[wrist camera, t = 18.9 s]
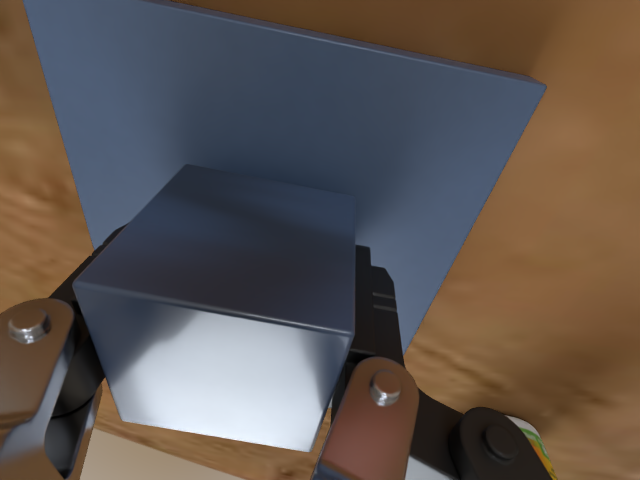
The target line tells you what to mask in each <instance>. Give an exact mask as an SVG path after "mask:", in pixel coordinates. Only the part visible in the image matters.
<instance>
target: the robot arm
mask: <svg viewBox="0 0 640 480" xmlns="http://www.w3.org/2000/svg"><path fill="white" fill-rule="evenodd" d="M127 224H128V223H127ZM127 224H125V225H123V226H121V227H120V228H118V229H116V230H114V231H113V232H112V233H111V234H110V235H109V236H108V237H107V238H106V240H105V241H104V242H103V244H102V245H100V246H99V247H98V248H97V249H96V250H95V251H94V252H93V253H92V256H89V257H88V258H87V259H86V260H85V261H84V262H83V263H82V264H81V265H80V266H79V267H78V268H77V269H76V270H75V271H74V272H73V273H72V274H71V275H70V276H69V277H68V278H67V279H66V280H65V281H64V282H63V283H62V284H61V285H60V286H59V287H58V288H57V289H56V290H55V291H54V292H53V293H52V295H51V296H50V297H48V298H42V299H34V300H30V301H26V302H23V303H20V304H18V305H15V306H13V307H11V308H9V309H7V310H6V311H4V312H2V313H1V314H0V480H80V475H81V472H82V468H83V464H84V460H85V457H86V453H87V449H88V445H89V441H90V438H91V434H92V430H93V426H94V423H95V419H96V415H97V411H98V408H99V404H100V400H101V396H102V384H101V382H102V381H103V379H104V378H105V375H104V372H103V369H102V366H101V364H100V361H99V358H98V356H97V353H96V350H95V347H94V345H93V342H92V339H91V336H90V334H89V331H88V328H87V325H86V323H85V320H84V317H83V315H82V312H81V309H80V306H79V304H78V301H77V298H76V295H75V293H74V290H73V287H72V285H73V282H74V280H75V279H76V278H77V277H78V276H79V275H80V274H81V273H82V271H83V270H84V269H85V268H86V267H87V266H88V265H89V264H90V263H91V262H92V261H93V260H94V259H95V258H96V257H97V256H98V255H99V254H100V253H101V252H102V251H103V250H104V248H105V247H106V246H107V245H108V244H109V243H110V242H111V241H112V240H113V239H114V238H115V237H116V236H117V235H118V234H119V233H120V232H121V231H122V230H123V229H124V228H125V226H126V225H127ZM395 297H396V296H395V288H394V282H393V280H392V278H391V277H390V275H389V274H388V272H387V270H386V269H385V268H383V267H377V266H372V265H371V252H370V247H367V246H362V245H356V257H355V336H354V339H353V341H352V344H351V347H350V350H349V352H348V355H347V358H346V360H345V363H344V366H343V369H342V371H341V374H340V377H339V379H338V382H337V385H336V388H335V390H334V393H333V396H332V398H331V401H330V404H329V406H328V408H332V409H331V426H330V429H329V432H328V434H327V437H326V439H325V442H324V444H323V447H322V450H321V452H320V455H319V457H318V460H317V463H316V465H315V468H314V470H313V473H312V476H311V478H310V480H553V479H552V477H551V476H550V474H549V472H548V471H547V469H546V468H545V466H544V464H543V463H542V461H541V459H540V458H539V456H538V455H537V453H536V451H535V450H534V448H533V446H532V445H531V443H530V441H529V440H528V438H527V437H526V435H525V434H524V433H523V431H522V430H521V429H520V428H519V427H518V426H517V425H516V424H515V423H514V422H513V421H512V420H510V419H509V418H508V417H507V416H505V415H503V414H502V413H500V412H498V411H496V410H493V409H490V408H485V407H476V408H472V409H470V410H469V411H467V412H466V413H465V414H462V413H460V412H458V411H456V410H454V409H452V408H450V407H448V406H446V405H444V404H442V403H440V402H438V401H436V400H434V399H432V398H431V397H429V396H428V395H426V394H425V393H423V392H422V391H421V390H420V389H419V388H418V387H417V385H416V383H415V380H414V379H413V377H412V376H411V374H410V373H409V372H408V371H407V370H406V368H405V365H404V359H403V351H402V343H401V336H400V328H399V320H398V313H397V304H396V300H395Z"/></svg>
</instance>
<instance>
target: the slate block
mask: <svg viewBox="0 0 640 480" xmlns="http://www.w3.org/2000/svg"><path fill="white" fill-rule="evenodd" d="M355 257H356V199H355V197H354V196H350V195H345V194H340V193H335V192H330V191H324V190H319V189H314V188H309V187H304V186H299V185H294V184H288V183H283V182H278V181H273V180H268V179H263V178H258V177H252V176H247V175H242V174H237V173H232V172H227V171H222V170H216V169H211V168H206V167H201V166H196V165H191V164H185V165H184V166H183V167H182V168H181V169H180V170H179V171H178V172H177V173H176V174H175V175H174V176H173V177H172V178H171V179H170V180H169V181H168V183H167V184H166V185H165V186H164V187H163V188H162V189H161V190H160V191H159V192H158V193H157V194H156V195H155V196H154V197H153V198H152V199H151V200H150V201H149V202H148V203H147V205H146V206H145V207H144V208H143V209H142V210H141V211H140V212H139V213H138V214H137V215H136V216H135V217H134V218H133V219H132V220H131V221H130V222H129V223H128V224H127V225H126V226H125V228H124V229H123V230H122V231H121V232H120V233H119V234H118V235H117V236H116V237H115V238H114V239H113V240H112V241H111V242H110V243H109V244H108V245H107V246H106V247H105V248H104V250H103V251H102V252H101V253H100V254H99V255H98V256H97V257H96V258H95V259H94V260H93V261H92V262H91V263H90V264H89V265H88V266H87V267H86V268H85V269H84V270H83V271H82V273H81V274H80V275H79V276H78V277H77V278H76V279H75V280H74V282H73V285H72V287H73V290H74V293H75V295H76V298H77V301H78V304H79V306H80V309H81V312H82V315H83V317H84V320H85V323H86V325H87V328H88V331H89V334H90V336H91V339H92V342H93V345H94V347H95V350H96V353H97V356H98V358H99V361H100V364H101V366H102V369H103V372H104V375H105V377H106V380H107V383H108V386H109V388H110V391H111V394H112V397H113V399H114V402H115V405H116V407H117V410H118V413H119V416H120V418H121V420H123V421H127V422H133V423H139V424H145V425H151V426H157V427H162V428H168V429H174V430H180V431H186V432H192V433H198V434H204V435H210V436H216V437H222V438H228V439H234V440H240V441H246V442H252V443H257V444H263V445H269V446H275V447H281V448H287V449H293V450H299V451H305V452H311V451H312V449H313V447H314V444H315V442H316V439H317V436H318V434H319V431H320V428H321V425H322V423H323V420H324V417H325V415H326V412H327V409H328V406H329V404H330V401H331V398H332V396H333V393H334V390H335V388H336V385H337V382H338V379H339V377H340V374H341V371H342V369H343V366H344V363H345V360H346V358H347V355H348V352H349V350H350V347H351V344H352V341H353V339H354V336H355Z"/></svg>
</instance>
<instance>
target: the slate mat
mask: <svg viewBox="0 0 640 480" xmlns="http://www.w3.org/2000/svg"><path fill="white" fill-rule="evenodd" d="M23 3H24V7H25V10H26V14H27V17H28V21H29V24H30V28H31V31H32V35H33V38H34V42H35V45H36V49H37V52H38V56H39V59H40V63H41V66H42V69H43V73H44V76H45V80H46V83H47V87H48V90H49V94H50V97H51V101H52V104H53V108H54V111H55V115H56V118H57V122H58V125H59V129H60V132H61V136H62V139H63V143H64V146H65V150H66V153H67V157H68V160H69V164H70V167H71V171H72V174H73V178H74V181H75V185H76V188H77V192H78V195H79V199H80V202H81V206H82V209H83V213H84V216H85V220H86V223H87V227H88V230H89V234H90V237H91V241H92V244H93V248H94V251H95V250H96V249H97V248H98V247H99V246H100V245H102V244H103V242H104V241H105V240H106V238H107V237H108V236H109V235H110V234H111V233H112V232H113V231H114V230H116V229H118V228H120V227H121V226H123V225H125V224H127V223H129V222H130V221H131V220H132V219H133V218H134V217H135V216H136V215H137V214H138V213H139V212H140V211H141V210H142V209H143V208H144V207H145V206H146V205H147V203H148V202H149V201H150V200H151V199H152V198H153V197H154V196H155V195H156V194H157V193H158V192H159V191H160V190H161V189H162V188H163V187H164V186H165V185H166V184H167V183H168V181H169V180H170V179H171V178H172V177H173V176H174V175H175V174H176V173H177V172H178V171H179V170H180V169H181V168H182V167H183V166H184V165H185V164H191V165H196V166H201V167H206V168H211V169H216V170H222V171H227V172H232V173H237V174H242V175H247V176H252V177H258V178H263V179H268V180H273V181H278V182H283V183H288V184H294V185H299V186H304V187H309V188H314V189H319V190H324V191H330V192H335V193H340V194H345V195H350V196H354V197H355V199H356V245H362V246H367V247H370V252H371V265H372V266H377V267H383V268H385V269H386V270H387V272H388V274H389V275H390V277H391V278H392V280H393V282H394V288H395V296H396V297H395V300H396V304H397V313H398V320H399V328H400V336H401V343H402V351H403V355H404V354H405V352H406V350H407V348H408V346H409V344H410V342H411V341H412V339H413V337H414V335H415V333H416V331H417V329H418V327H419V326H420V324H421V322H422V320H423V318H424V316H425V314H426V312H427V311H428V309H429V307H430V305H431V303H432V301H433V299H434V298H435V296H436V294H437V292H438V290H439V288H440V286H441V284H442V283H443V281H444V279H445V277H446V275H447V273H448V271H449V270H450V268H451V266H452V264H453V262H454V260H455V258H456V256H457V255H458V253H459V251H460V249H461V247H462V245H463V243H464V241H465V240H466V238H467V236H468V234H469V232H470V230H471V228H472V227H473V225H474V223H475V221H476V219H477V217H478V215H479V213H480V212H481V210H482V208H483V206H484V204H485V202H486V200H487V198H488V197H489V195H490V193H491V191H492V189H493V187H494V185H495V184H496V182H497V180H498V178H499V176H500V174H501V172H502V170H503V169H504V167H505V165H506V163H507V161H508V159H509V157H510V156H511V154H512V152H513V150H514V148H515V146H516V144H517V142H518V141H519V139H520V137H521V135H522V133H523V131H524V129H525V127H526V126H527V124H528V122H529V120H530V118H531V116H532V114H533V113H534V111H535V109H536V107H537V105H538V103H539V101H540V99H541V98H542V96H543V94H544V92H545V90H546V88H547V86H546V85H545V84H543V83H541V82H539V81H537V80H536V79H534V78H532V77H530V76H525V75H521V74H516V73H511V72H506V71H502V70H497V69H492V68H487V67H483V66H478V65H473V64H468V63H463V62H459V61H454V60H449V59H444V58H440V57H435V56H430V55H425V54H421V53H416V52H411V51H406V50H402V49H397V48H392V47H387V46H383V45H378V44H373V43H368V42H364V41H359V40H354V39H349V38H344V37H340V36H335V35H330V34H325V33H321V32H316V31H311V30H306V29H302V28H297V27H292V26H287V25H283V24H278V23H273V22H268V21H264V20H259V19H254V18H249V17H245V16H240V15H235V14H230V13H225V12H221V11H216V10H211V9H206V8H202V7H197V6H192V5H187V4H183V3H178V2H173V1H168V0H23Z"/></svg>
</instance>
